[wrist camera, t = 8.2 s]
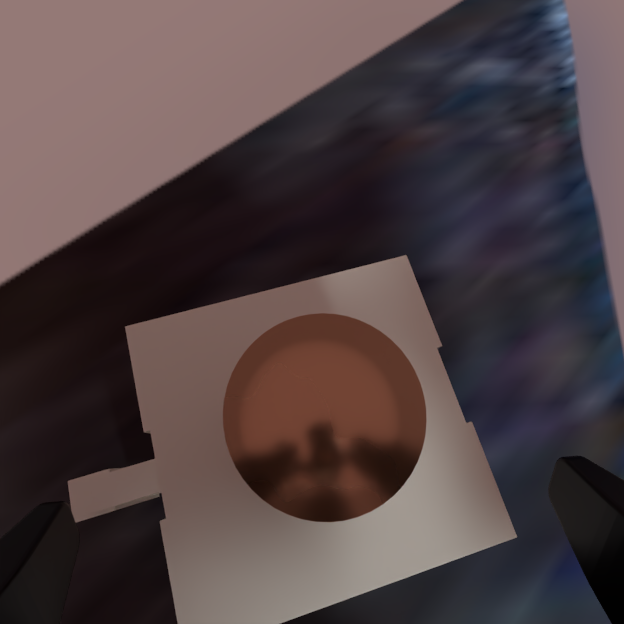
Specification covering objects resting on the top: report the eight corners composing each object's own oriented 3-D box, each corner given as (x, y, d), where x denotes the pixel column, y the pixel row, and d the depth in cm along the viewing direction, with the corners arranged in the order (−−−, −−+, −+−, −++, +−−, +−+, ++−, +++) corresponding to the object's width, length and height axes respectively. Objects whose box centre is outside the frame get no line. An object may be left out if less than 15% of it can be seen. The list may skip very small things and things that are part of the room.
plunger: (399, 491, 15) (552, 536, 7) (247, 542, 15) (189, 670, 6) (351, 345, 17) (423, 223, 8) (211, 384, 16) (122, 297, 7)
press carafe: (435, 513, 16) (522, 545, 10) (158, 609, 15) (72, 711, 9) (366, 315, 18) (405, 248, 12) (120, 382, 17) (31, 342, 11)
